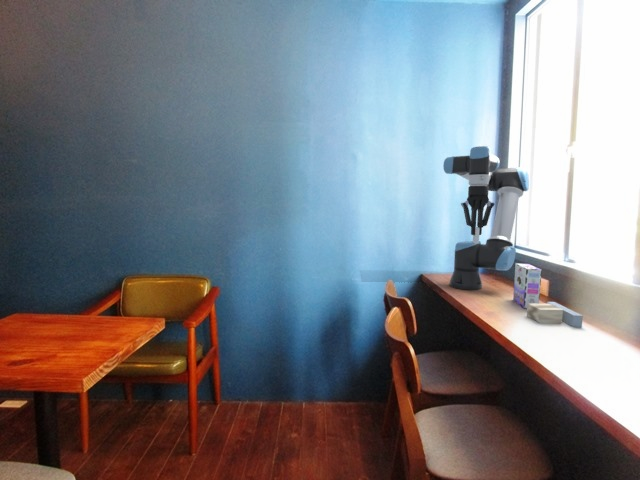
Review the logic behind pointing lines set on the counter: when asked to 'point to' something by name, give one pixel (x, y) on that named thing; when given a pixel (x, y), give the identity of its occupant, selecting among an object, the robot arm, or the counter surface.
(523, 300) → the candy box
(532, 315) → the block
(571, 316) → the blue-grey bar
